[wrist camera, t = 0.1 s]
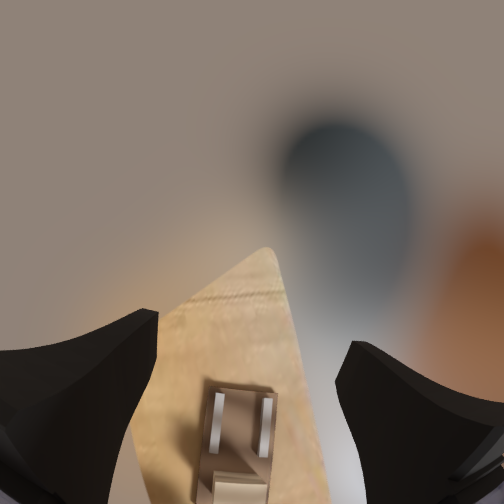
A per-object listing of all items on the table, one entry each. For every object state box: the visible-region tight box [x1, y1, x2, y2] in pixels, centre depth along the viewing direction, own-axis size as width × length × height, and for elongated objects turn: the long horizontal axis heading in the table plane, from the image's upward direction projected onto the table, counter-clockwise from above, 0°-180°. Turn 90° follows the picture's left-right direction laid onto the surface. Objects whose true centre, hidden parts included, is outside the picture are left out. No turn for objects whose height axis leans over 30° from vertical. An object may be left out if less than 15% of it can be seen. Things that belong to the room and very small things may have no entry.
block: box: [212, 471, 267, 504], centre depth 24 cm, size 4×6×7 cm, turn 85°
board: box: [196, 386, 278, 504], centre depth 30 cm, size 20×10×3 cm, turn 174°
